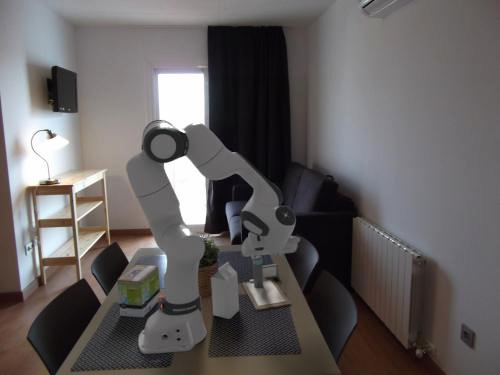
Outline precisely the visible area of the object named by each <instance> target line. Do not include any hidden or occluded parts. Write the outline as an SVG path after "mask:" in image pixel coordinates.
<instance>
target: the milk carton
mask: <svg viewBox="0 0 500 375" xmlns="http://www.w3.org/2000/svg"><path fill="white" fill-rule="evenodd" d="M210 285H211V286H210V287H211V298H212V299H211V301H212V313H213V314H212V315H213V316H214V317H215V316H216V317H220V318H224V319H228V320H230V319H232V318H233V317H234V316H235V315H236V314H237V313H238V312H239V311H240V304H239V303H240V302H239V282H238V272H237V271H236V270H235V269H234V268H233V267H232V266H231V265H230V262H229V261H228V262H225V263H224V264H223V265H222V266H220V267H219V268H218V270H217V272H216V273H214V275H213V276H211V277H210Z"/></svg>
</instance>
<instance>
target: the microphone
mask: <svg viewBox="0 0 500 375" xmlns="http://www.w3.org/2000/svg"><path fill="white" fill-rule="evenodd" d="M263 261H264V260H263V255H257V256H256V259H252V271H253V272H252V274H253V279H254V287H255V288H262V287H263V266H264V265H263Z"/></svg>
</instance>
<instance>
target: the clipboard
mask: <svg viewBox="0 0 500 375" xmlns="http://www.w3.org/2000/svg"><path fill="white" fill-rule="evenodd" d="M241 285H242V287H243V289H244V291H245V293H246V295H247V297H248V299H249V300H250V302H251V304H252V305H253V308H254V309H255V311H256V312H257V311H262V310H269V309H275V308H280V307H281V308H282V307H287V306H292V303H291V301H290V300H289V299H288V297H287V296H286V294H285V293H284V291H282V289H281V288H280V286H279V285H278V284H277V283H276V281H275V279H274V278H270V279H266V278H263V287H262V288H255V287H254V278H253V279H249V281H246V282H241Z"/></svg>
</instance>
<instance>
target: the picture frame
mask: <svg viewBox="0 0 500 375" xmlns="http://www.w3.org/2000/svg"><path fill="white" fill-rule="evenodd" d="M278 265H279V264H278V263H273V264H266V265H263V278H266V279H271V278H273V279H275V278H276V279H277V278H278V277H279V275H278V271H279V270H278V267H279V266H278Z"/></svg>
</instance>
